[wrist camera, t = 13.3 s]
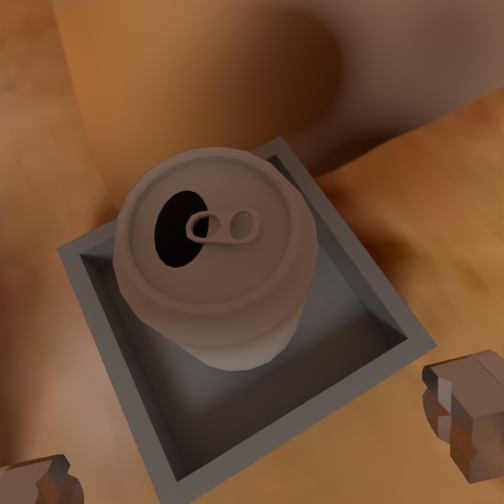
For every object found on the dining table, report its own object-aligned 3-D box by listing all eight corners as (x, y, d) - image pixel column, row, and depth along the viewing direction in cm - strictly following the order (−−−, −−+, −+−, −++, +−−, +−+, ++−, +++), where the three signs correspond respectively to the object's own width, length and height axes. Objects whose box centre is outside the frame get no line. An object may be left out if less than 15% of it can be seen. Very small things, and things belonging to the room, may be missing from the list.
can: (186, 246, 26) (120, 121, 14) (302, 255, 25) (328, 132, 14) (166, 366, 23) (65, 325, 12) (295, 379, 22) (320, 349, 11)
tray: (280, 171, 28) (281, 135, 25) (410, 355, 23) (437, 346, 20) (87, 270, 26) (57, 248, 23) (184, 498, 21) (166, 517, 17)
